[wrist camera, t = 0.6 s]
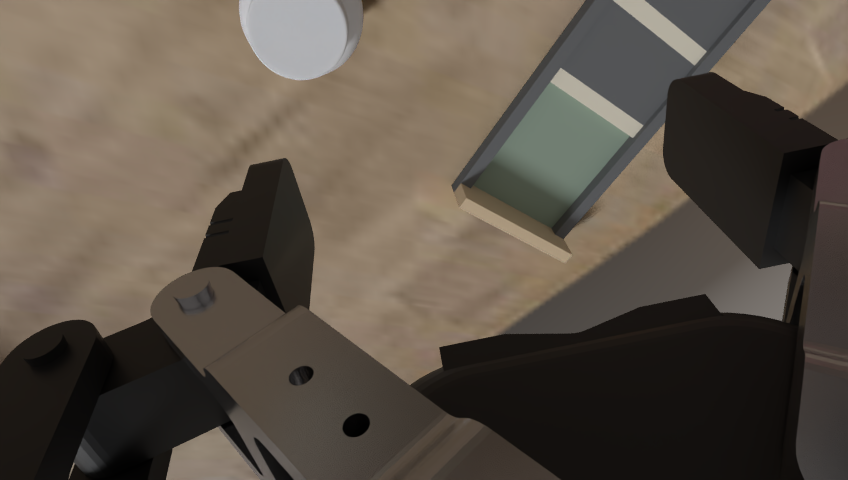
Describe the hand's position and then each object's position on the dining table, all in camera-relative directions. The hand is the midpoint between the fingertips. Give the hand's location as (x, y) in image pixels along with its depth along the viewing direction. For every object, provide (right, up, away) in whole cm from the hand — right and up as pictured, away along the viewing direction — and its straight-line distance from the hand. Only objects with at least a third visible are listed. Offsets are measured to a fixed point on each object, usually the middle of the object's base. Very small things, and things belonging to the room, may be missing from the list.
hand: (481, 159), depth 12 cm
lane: (+11, +9, +23) cm, 27 cm away
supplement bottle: (-7, +12, +19) cm, 23 cm away
